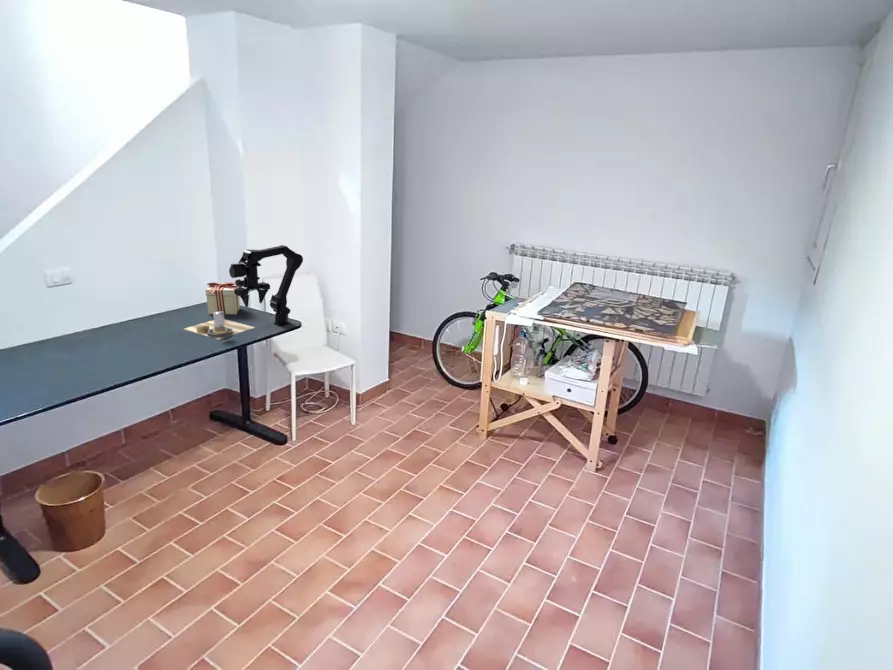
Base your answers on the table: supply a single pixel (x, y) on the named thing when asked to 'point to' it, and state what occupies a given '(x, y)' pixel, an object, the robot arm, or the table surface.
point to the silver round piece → (219, 323)
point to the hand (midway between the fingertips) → (253, 305)
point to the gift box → (222, 298)
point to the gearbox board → (208, 326)
